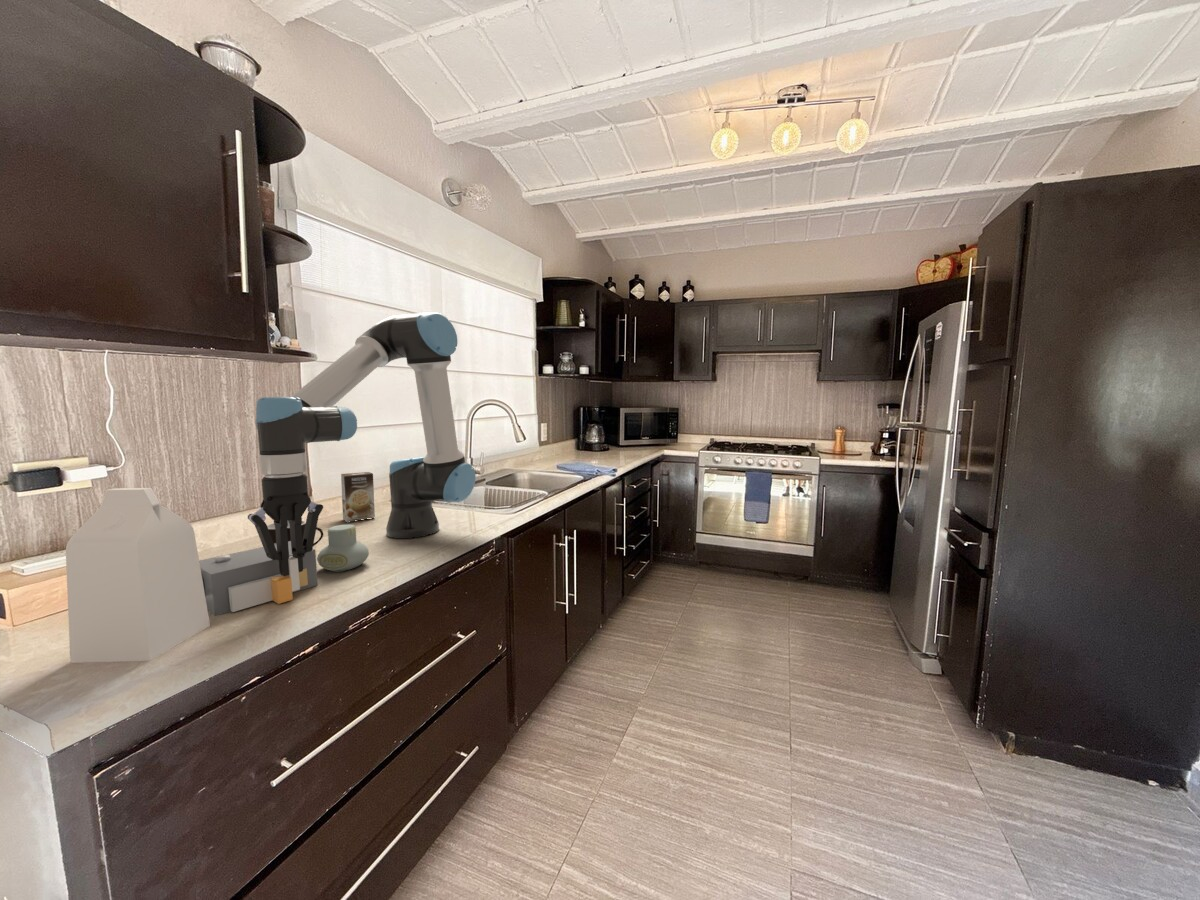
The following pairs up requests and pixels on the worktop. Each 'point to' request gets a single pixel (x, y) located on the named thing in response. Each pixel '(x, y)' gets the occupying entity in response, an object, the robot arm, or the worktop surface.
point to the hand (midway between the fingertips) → (293, 589)
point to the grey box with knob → (246, 574)
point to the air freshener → (342, 549)
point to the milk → (133, 581)
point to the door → (260, 592)
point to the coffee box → (357, 496)
